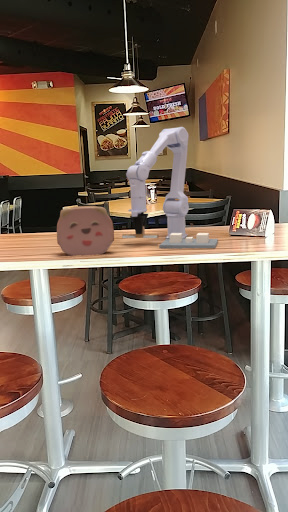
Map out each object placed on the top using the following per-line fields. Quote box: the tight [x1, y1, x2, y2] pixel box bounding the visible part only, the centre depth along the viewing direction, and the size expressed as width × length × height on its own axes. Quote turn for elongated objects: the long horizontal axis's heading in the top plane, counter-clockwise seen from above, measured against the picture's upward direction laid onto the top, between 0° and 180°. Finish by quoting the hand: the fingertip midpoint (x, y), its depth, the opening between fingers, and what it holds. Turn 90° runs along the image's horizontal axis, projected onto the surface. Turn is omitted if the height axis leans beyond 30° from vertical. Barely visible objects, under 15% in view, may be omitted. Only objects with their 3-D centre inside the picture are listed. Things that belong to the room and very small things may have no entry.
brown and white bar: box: [121, 226, 159, 239], centre depth 169 cm, size 3×14×4 cm, turn 76°
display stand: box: [159, 232, 219, 249], centre depth 165 cm, size 14×20×4 cm
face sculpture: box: [56, 205, 115, 257], centre depth 155 cm, size 20×7×17 cm, turn 94°
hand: (140, 233), depth 169 cm, fingers closed on brown and white bar, 2 cm apart
